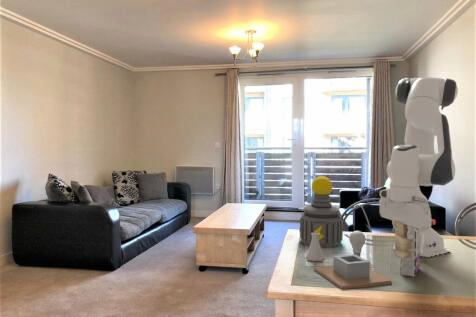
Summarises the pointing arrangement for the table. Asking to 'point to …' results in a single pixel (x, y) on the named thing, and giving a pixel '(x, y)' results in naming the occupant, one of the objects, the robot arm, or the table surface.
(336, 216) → the decorative lamp
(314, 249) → the flask
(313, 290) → the table surface
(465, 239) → the table surface
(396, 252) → the wooden block
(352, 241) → the lightbulb
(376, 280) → the square peg socket base
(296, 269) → the table surface
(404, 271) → the candy bar box
